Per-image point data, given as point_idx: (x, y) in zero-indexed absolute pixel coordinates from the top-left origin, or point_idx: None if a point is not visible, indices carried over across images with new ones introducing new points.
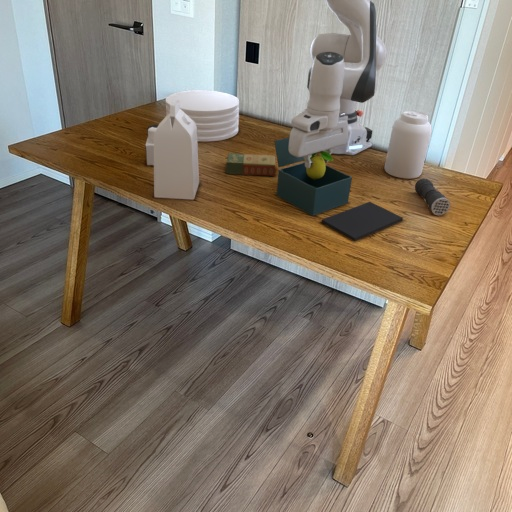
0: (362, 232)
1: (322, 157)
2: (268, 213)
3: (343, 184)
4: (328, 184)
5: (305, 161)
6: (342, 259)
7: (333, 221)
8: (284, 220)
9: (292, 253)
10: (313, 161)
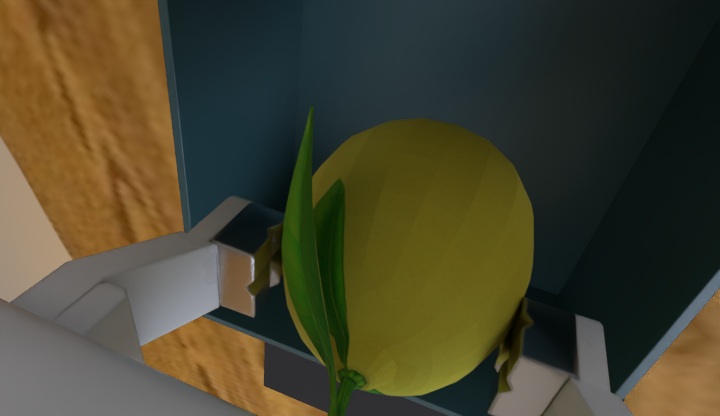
0: (313, 399)
1: (508, 362)
2: (119, 11)
3: (475, 389)
4: (308, 356)
5: (192, 233)
6: (175, 363)
7: None
8: (153, 123)
9: (70, 253)
10: (287, 304)
